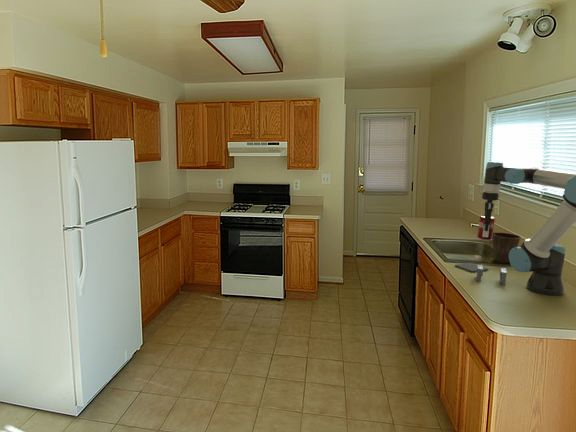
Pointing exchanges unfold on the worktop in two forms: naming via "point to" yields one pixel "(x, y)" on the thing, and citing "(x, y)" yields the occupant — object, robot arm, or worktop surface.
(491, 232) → the soda can
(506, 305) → the worktop surface
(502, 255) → the plant pot
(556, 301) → the worktop surface
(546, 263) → the robot arm
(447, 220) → the worktop surface
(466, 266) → the rubber mat
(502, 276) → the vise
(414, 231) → the worktop surface
